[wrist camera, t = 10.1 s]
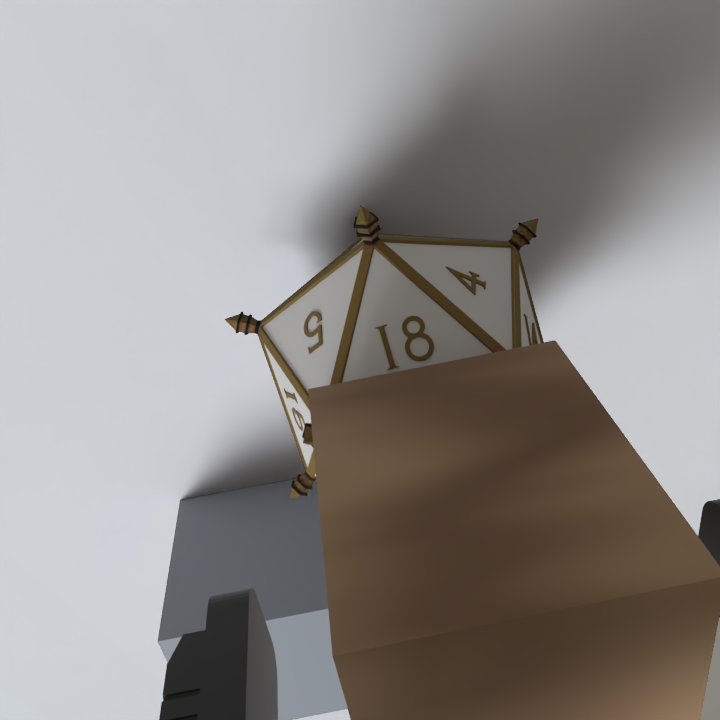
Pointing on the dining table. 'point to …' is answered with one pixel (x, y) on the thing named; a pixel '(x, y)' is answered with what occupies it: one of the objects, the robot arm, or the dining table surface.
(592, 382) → the dining table surface
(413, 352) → the game die
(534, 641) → the walnut block
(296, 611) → the slate block
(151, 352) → the dining table surface
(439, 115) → the dining table surface
